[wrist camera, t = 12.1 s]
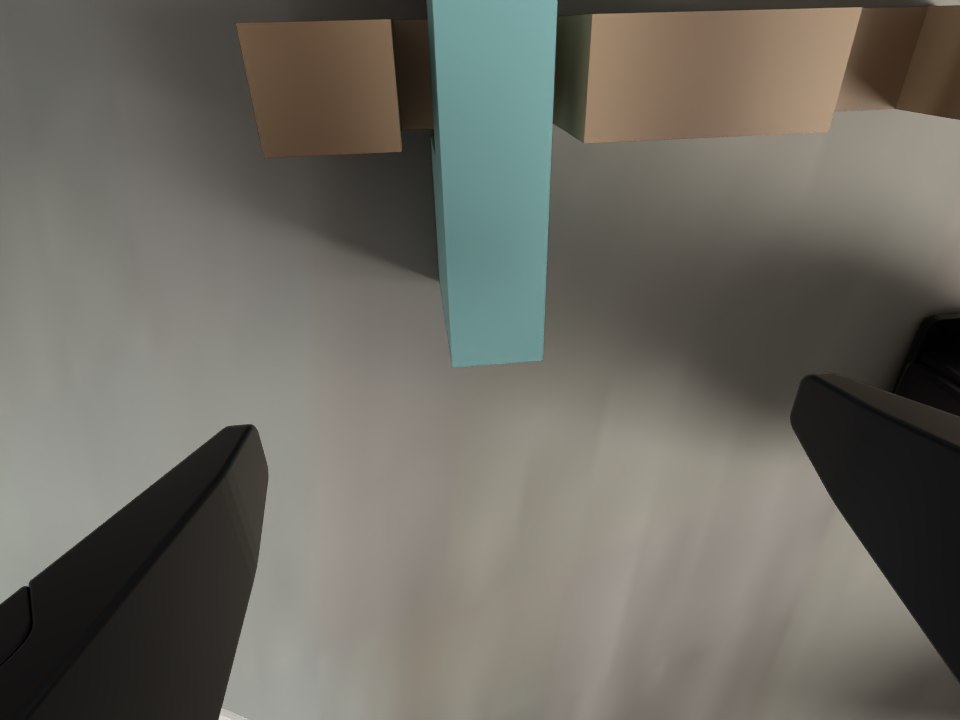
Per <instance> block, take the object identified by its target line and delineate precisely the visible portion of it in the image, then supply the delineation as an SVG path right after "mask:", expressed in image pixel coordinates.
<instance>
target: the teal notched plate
mask: <svg viewBox="0 0 960 720" xmlns="http://www.w3.org/2000/svg"><path fill="white" fill-rule="evenodd" d="M427 17H428V35H429V52H430V69H431V86H432V104H433V121H434V137H431V150H432V167H433V183H434V199H435V216H436V232H437V248H438V265H439V281H440V288H441V295H442V302H443V309H444V315H445V322H446V329H447V336H448V342H449V349H450V356H451V363H452V368H455V367H468V366H480V365H493V364H505V363H518V362H531V361H543V344H544V319H545V295H546V270H547V246H548V221H549V197H550V172H551V148H552V123H553V98H554V74H555V49H556V25H557V0H427Z"/></svg>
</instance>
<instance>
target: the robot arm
mask: <svg viewBox="0 0 960 720" xmlns="http://www.w3.org/2000/svg"><path fill="white" fill-rule="evenodd" d="M790 421H791V425H792V428H793V430H794V432H795V434H796V436H797V438H798V439H799V441H800V443H801V445H802V447H803V448H804V450H805V452H806V454H807V456H808V457H809V459H810V461H811V463H812V465H813V466H814V468H815V470H816V472H817V474H818V475H819V477H820V479H821V481H822V483H823V484H824V486H825V488H826V490H827V492H828V493H829V495H830V497H831V498H832V500H833V502H834V503H835V505H836V506H837V508H838V509H839V511H840V512H841V514H842V515H843V517H844V518H845V520H846V521H847V523H848V524H849V526H850V527H851V528H852V530H853V531H854V533H855V534H856V536H857V537H858V538H859V540H860V541H861V543H862V544H863V546H864V547H865V549H866V550H867V551H868V553H869V554H870V556H871V557H872V559H873V560H874V562H875V563H876V564H877V566H878V567H879V569H880V570H881V572H882V573H883V574H884V576H885V577H886V579H887V580H888V582H889V583H890V585H891V586H892V587H893V589H894V590H895V592H896V593H897V595H898V596H899V597H900V599H901V600H902V602H903V603H904V605H905V606H906V608H907V609H908V610H909V612H910V613H911V615H912V616H913V618H914V619H915V621H916V622H917V623H918V625H919V626H920V628H921V629H922V631H923V632H924V633H925V635H926V636H927V638H928V639H929V641H930V642H931V644H932V645H933V646H934V648H935V649H936V651H937V652H938V654H939V655H940V656H941V658H942V659H943V661H944V662H945V664H946V665H947V667H948V668H949V669H950V671H951V672H952V674H953V675H954V677H955V678H956V679H957V681H958V682H959V684H960V313H955V314H942V315H933V316H930V317H928V318H927V319H925V320H924V321H923V322H922V324H921V325H920V327H919V329H918V332H917V334H916V337H915V339H914V341H913V344H912V346H911V349H910V351H909V353H908V356H907V358H906V361H905V363H904V365H903V368H902V370H901V373H900V375H899V378H898V380H897V382H896V385H895V387H894V390H893V392H892V393H889V392H887V391H884V390H881V389H878V388H875V387H872V386H869V385H866V384H864V383H861V382H858V381H855V380H852V379H849V378H846V377H843V376H841V375H838V374H835V373H830V372H825V373H815V374H808V375H806V376H804V377H803V379H802V380H801V382H800V385H799V388H798V391H797V394H796V398H795V401H794V404H793V407H792V410H791V414H790ZM267 485H268V466H267V462H266V458H265V454H264V451H263V447H262V444H261V440H260V436H259V433H258V430H257V429H256V427H255V426H254V425H252V424H246V425H234V426H227V427H225V428H224V429H222V430H221V431H220V432H218V433H217V434H216V435H215V436H213V437H212V438H211V439H210V440H208V441H207V442H206V443H205V444H203V445H202V446H201V447H199V448H198V449H197V450H196V451H194V452H193V453H192V454H191V455H189V456H188V457H187V458H185V459H184V460H183V461H182V462H180V463H179V464H178V465H177V466H175V467H174V468H173V469H172V470H170V471H169V472H168V473H166V474H165V475H164V476H163V477H161V478H160V479H159V480H158V481H156V482H155V483H154V484H153V485H151V486H150V487H149V488H147V489H146V490H145V491H144V492H142V493H141V494H140V495H139V496H137V497H136V498H135V499H133V500H132V501H131V502H130V503H128V504H127V505H126V506H125V507H123V508H122V509H121V510H120V511H118V512H117V513H116V514H114V515H113V516H112V517H111V518H109V519H108V520H107V521H106V522H104V523H103V524H102V525H101V526H99V527H98V528H97V529H95V530H94V531H93V532H92V533H90V534H89V535H88V536H87V537H85V538H84V539H83V540H81V541H80V542H79V543H78V544H76V545H75V546H74V547H73V548H71V549H70V550H69V551H67V552H66V553H65V554H64V555H62V556H61V557H60V558H59V559H57V560H56V561H55V562H53V563H52V564H51V565H50V566H48V567H47V568H46V569H45V570H43V571H42V572H41V573H40V574H38V575H37V576H36V577H34V578H33V579H32V580H31V581H30V582H29V587H28V586H23V587H22V588H20V589H19V590H18V591H16V592H15V593H14V594H13V595H11V596H10V597H9V598H8V599H6V600H5V601H4V602H3V603H1V604H0V720H219V716H220V712H221V708H222V704H223V700H224V696H225V692H226V688H227V685H228V681H229V677H230V673H231V669H232V665H233V661H234V657H235V653H236V649H237V645H238V641H239V637H240V633H241V629H242V625H243V621H244V618H245V614H246V610H247V606H248V602H249V598H250V594H251V590H252V586H253V582H254V578H255V573H256V569H257V563H258V556H259V549H260V541H261V533H262V525H263V517H264V509H265V501H266V493H267Z"/></svg>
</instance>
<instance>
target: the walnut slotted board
mask: <svg viewBox="0 0 960 720" xmlns="http://www.w3.org/2000/svg"><path fill="white" fill-rule="evenodd" d="M236 26H237V31H238V36H239V41H240V46H241V51H242V55H243V60H244V65H245V70H246V75H247V79H248V84H249V89H250V94H251V99H252V104H253V108H254V113H255V118H256V123H257V128H258V133H259V137H260V142H261V147H262V152H263V157H264V158H279V157H300V156H322V155H343V154H365V153H386V152H402V130H418V129H434V121H433V104H432V86H431V69H430V52H429V35H428V19H423V20H390V19H380V20H341V21H302V22H263V23H236ZM882 109H899V110H905V111H911V112H917V113H923V114H929V115H934V116H940V117H946V118H952V119H958V120H960V5H956V6H926V7H888V8H862V7H848V8H809V9H770V10H731V11H692V12H653V13H614V14H585V15H567V16H557V25H556V49H555V74H554V98H553V123H552V124H555V125H557V126H558V127H560V128H561V129H563V130H564V131H566V132H567V133H569V134H570V135H572V136H573V137H575V138H577V139H578V140H580V141H581V142H583V143H601V142H623V141H644V140H666V139H687V138H709V137H730V136H752V135H773V134H795V133H817V132H829V129H830V125H831V121H832V118H833V114H834V112H835V111H859V110H882Z"/></svg>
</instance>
